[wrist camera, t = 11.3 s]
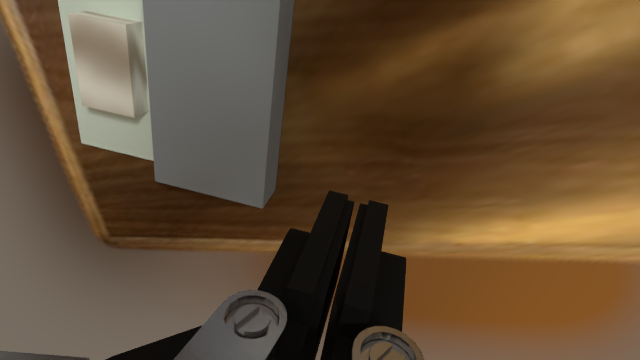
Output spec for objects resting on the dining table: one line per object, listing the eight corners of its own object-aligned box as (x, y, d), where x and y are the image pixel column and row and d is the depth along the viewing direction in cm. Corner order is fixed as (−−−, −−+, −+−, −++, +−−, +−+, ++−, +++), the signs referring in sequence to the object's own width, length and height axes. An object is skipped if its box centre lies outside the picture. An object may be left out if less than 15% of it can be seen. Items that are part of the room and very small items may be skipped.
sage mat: (46, -77, 36) (45, -77, 36) (166, -57, 35) (165, -57, 35) (82, 142, 47) (81, 143, 47) (175, 165, 45) (174, 166, 45)
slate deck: (166, -57, 35) (138, -60, 31) (297, -35, 33) (283, -36, 30) (175, 165, 45) (155, 181, 42) (275, 190, 44) (262, 208, 40)
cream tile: (125, 24, 36) (142, 21, 38) (67, 13, 37) (87, 11, 39) (134, 117, 40) (148, 110, 43) (82, 105, 41) (99, 99, 43)
